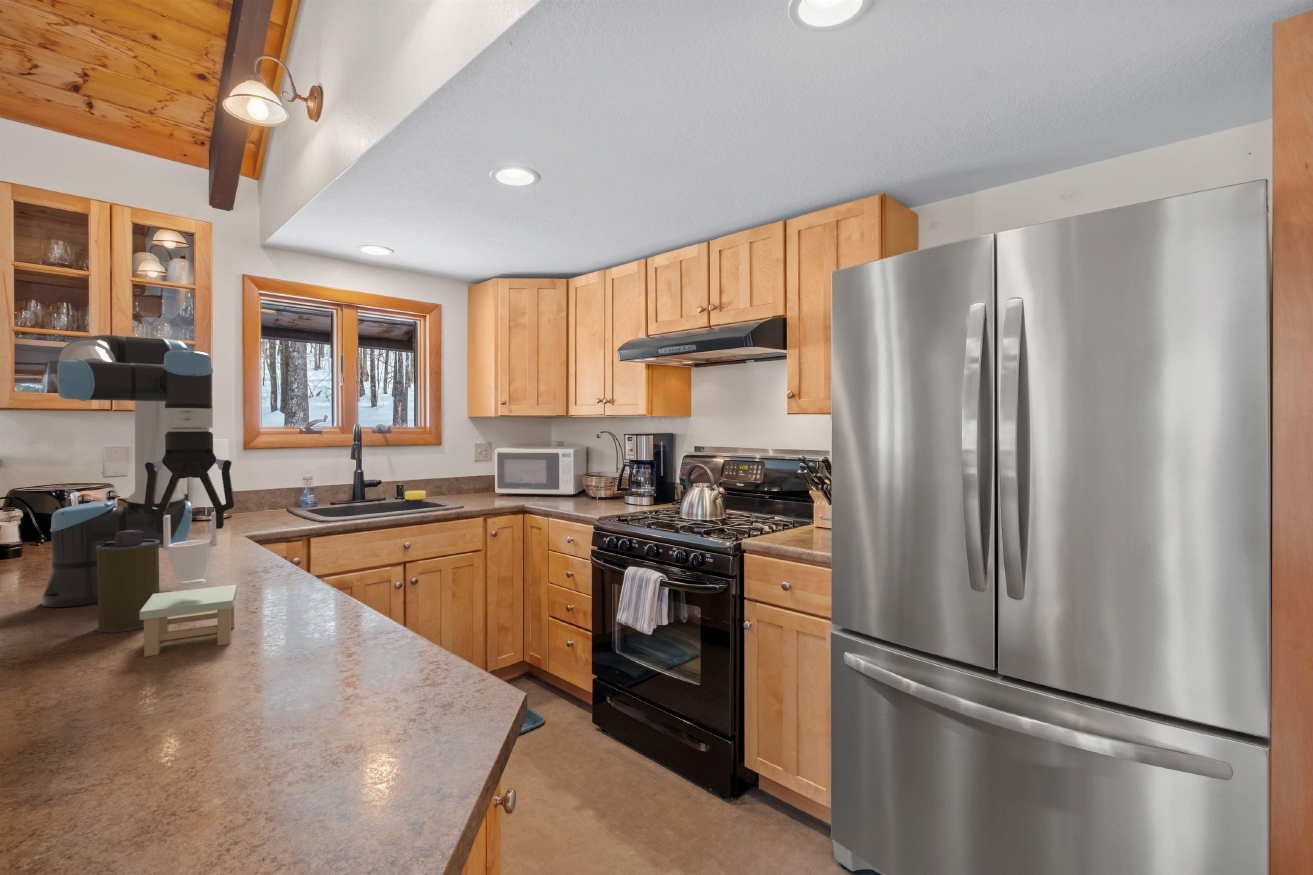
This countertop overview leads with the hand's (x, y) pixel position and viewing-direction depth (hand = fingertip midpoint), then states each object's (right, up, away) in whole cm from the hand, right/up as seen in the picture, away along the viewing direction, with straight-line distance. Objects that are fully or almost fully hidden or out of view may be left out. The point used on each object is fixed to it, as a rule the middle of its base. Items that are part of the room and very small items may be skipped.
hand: (191, 547), depth 122 cm
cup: (0, -7, 0) cm, 7 cm away
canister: (-21, -19, +10) cm, 29 cm away
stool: (0, -18, 0) cm, 18 cm away
